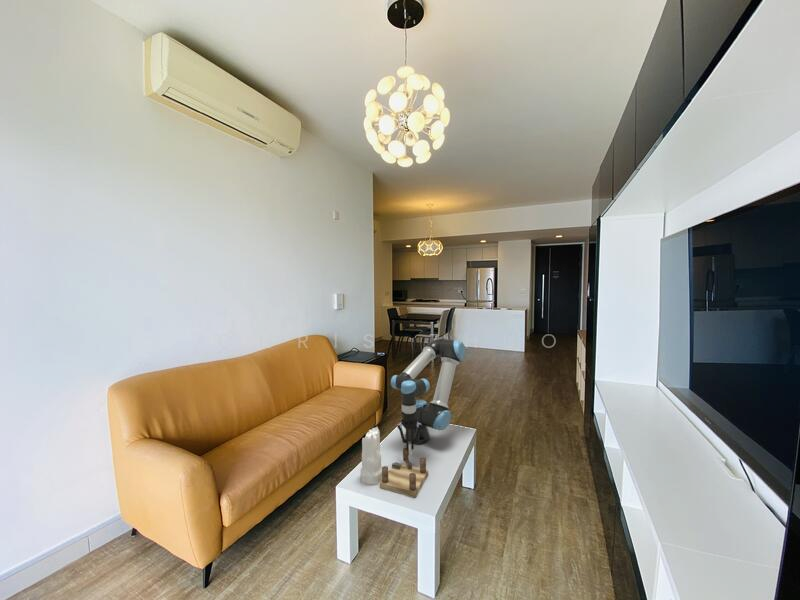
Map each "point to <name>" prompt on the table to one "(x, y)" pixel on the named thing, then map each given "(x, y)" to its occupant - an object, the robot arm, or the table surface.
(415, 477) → the stool seat
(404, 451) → the hinged leg
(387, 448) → the table surface
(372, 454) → the white tall rough piece
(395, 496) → the table surface
